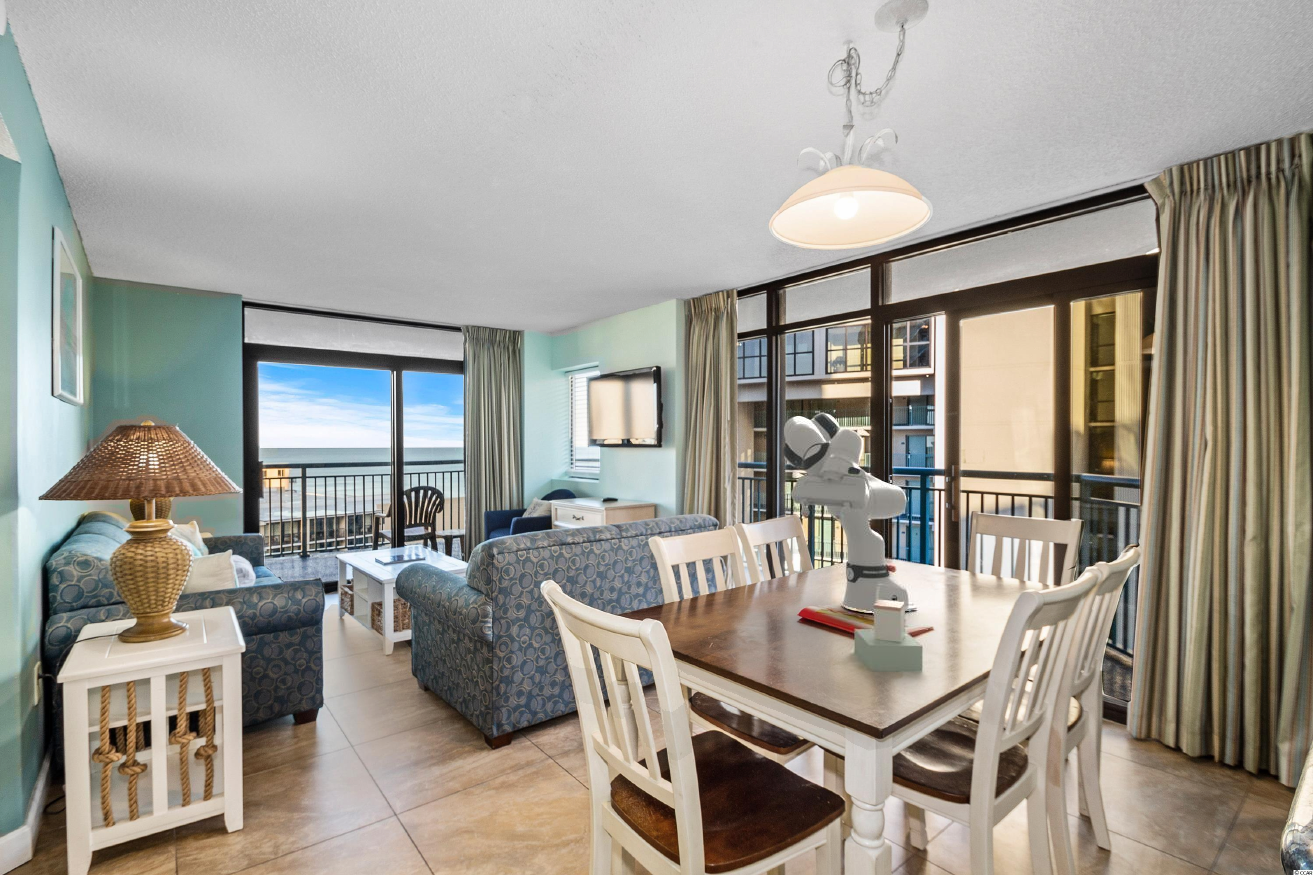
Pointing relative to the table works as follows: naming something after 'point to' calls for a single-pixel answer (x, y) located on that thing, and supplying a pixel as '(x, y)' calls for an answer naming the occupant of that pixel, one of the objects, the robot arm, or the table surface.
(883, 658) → the green box
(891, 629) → the white brown-topped block
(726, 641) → the table surface
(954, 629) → the table surface
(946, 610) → the table surface
